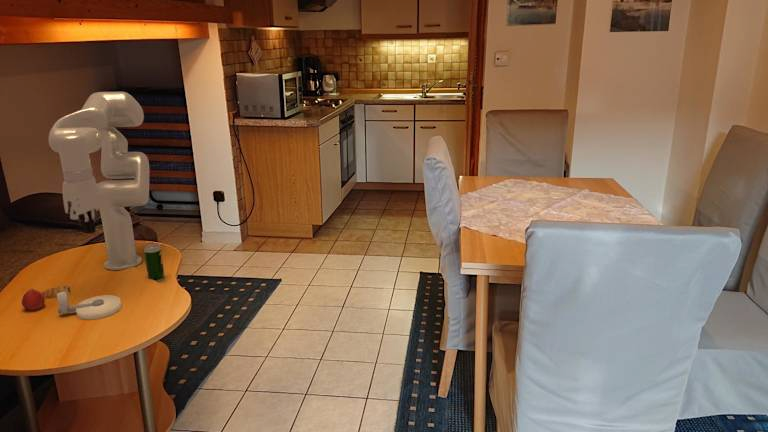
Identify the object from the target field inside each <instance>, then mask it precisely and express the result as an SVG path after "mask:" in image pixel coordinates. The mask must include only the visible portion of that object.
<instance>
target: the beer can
mask: <svg viewBox="0 0 768 432" xmlns="http://www.w3.org/2000/svg"><path fill="white" fill-rule="evenodd" d="M143 252H144V258H145V259H144V261H145V266H146V274H147V279H149V280H153V281H155V282H156V283H158V282H162V281H163V280H164V279H165V269H164V261H163V254H162V253H163V252H162V248H161V245H160V244H157V243H156V244H155V243H153V244H148V245H146V246H145V247H144V250H143Z"/></svg>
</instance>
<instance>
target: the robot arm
mask: <svg viewBox="0 0 768 432" xmlns="http://www.w3.org/2000/svg"><path fill="white" fill-rule="evenodd" d="M144 119H145V115H144V110H143V108H142V105H140V103H139V102H138V101H137V100H136V98H134V96H132V95H131V94H129V93H128V92H126V91H98V92H94V93H92V94H90V96H89V97H88V98H87V100H86V101H85V103H84V105H83V106H82V107H81V109H80V110H76V111H74V112H73V113H70V114H67V115H65V116H63V117H61V118H59V119H58V120H57V121H55V123H54V124H53V125H52V128H51V129H50V131H49V134H48V138H47V139H48V144H49V147H50V148H51V150H52V151H53V152H55V153H58V155H59V158H60V159H59V160H60V163H61V164H60V165H61V170H62V173H63V179H64V181H63V182H62V201H63V207H64V212H65V214H69V217H70V220H73V221H74V220H78V221H79V222H80V224H81V228H82V233H84V234H94V233H95V232H96V227H95V223H94V222H95V221H94V220H95V218H96V212H97V211H99V213H100V218H101V223H102V231H103V235H104V242H105V249H106V255H107V260H106V261H104V262H103V263H104V265H103V266H104V268H105V269H107V270H110V271H122V270H128V269H132V268H135V267H137V266H139V265H140V264H141V263H142V261H143V260H142V259H143V258H142V256H140V255H138V254H137V250H136V249H137V247H136V243H135V235H134V228H133V222H132V217H131V214H130V213H129V212H128V210H126V208H125V207H139V206H145V205H146V204H148V202H149V197H150V163H149V158H148V156H147V154H145V153H144V152H141V151H128V150H129V149H128V148H129V146H128V144H129V142H128V140H127V138H126V137H125V136H124V135H123V134H122V133H121V132H120V131H119V130H118V129H117V128H120V127H121V128H123V127H125V128H127V127H128V128H129V127H130V128H131V127H138V126H141V125H142V124H143V122H144ZM100 149H101V156H100V157H101V158H100V172H101V174H102V176H103V177H104V178H107V179H110V180H103V181H101V182H98V183H97V181H96V178H95V176H94V174H93V171H94V169H93V168H94V167H92V163H91V157H90V154H92V153H95V152H98V151H99V150H100ZM111 179H112V180H111Z"/></svg>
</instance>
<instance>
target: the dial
mask: <svg viewBox="0 0 768 432" xmlns="http://www.w3.org/2000/svg"><path fill="white" fill-rule="evenodd" d="M56 299H57V303H58V308H57V309H58V311H57V314H58V315H61V314H62V315H64V314H68V313H75V312H76V317H78V318H79V319H81V320H88V321H89V320H91V321H92V320H99V319H104V318H107V317H111V316H112V315H114V314H116V313H118V312H119V311H120V310H121V308H122V301H121V298H120V297H119V296H117V295H112V294H105V295H104V294H101V295H96V296H93V297H92V296H91V297H89V298H86V299H84V300H82V301H80V302H79V303H78V304H75V305H69V301H68V296H67V295H66V292H59V293H57V298H56Z"/></svg>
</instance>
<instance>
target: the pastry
mask: <svg viewBox="0 0 768 432" xmlns="http://www.w3.org/2000/svg"><path fill="white" fill-rule="evenodd" d="M69 290H71V286H70V285H69V284H66V285H58V286H57V285H56V286H55V287H52V288H51V287H50V288H49V289H46V290H43V291H42V292H41V291H40V293H42V294H43V296H44V298H45V300H47V299H55V298H56V299H57V293H59V292H66V295H67V297H69V296H70V292H69Z"/></svg>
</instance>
